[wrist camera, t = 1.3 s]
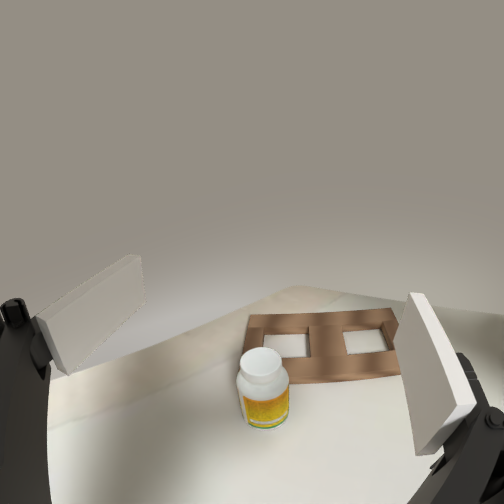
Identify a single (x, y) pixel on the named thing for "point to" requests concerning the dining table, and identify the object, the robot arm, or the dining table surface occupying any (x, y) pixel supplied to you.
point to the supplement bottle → (263, 389)
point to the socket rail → (329, 344)
